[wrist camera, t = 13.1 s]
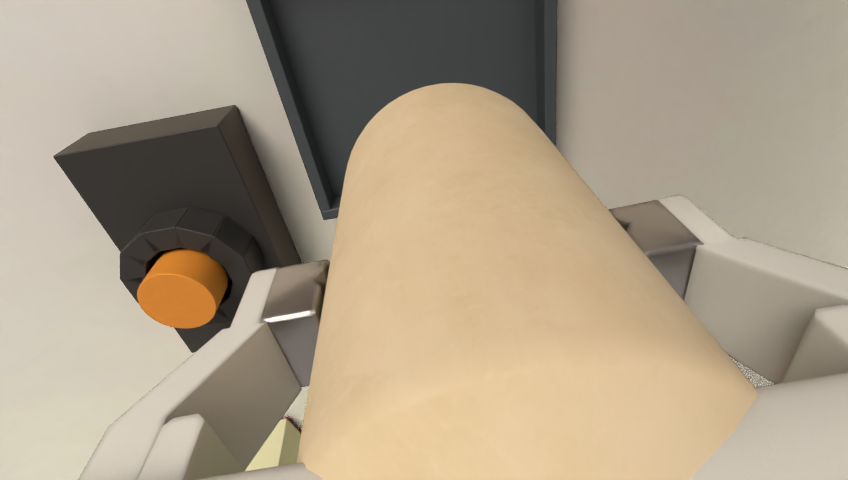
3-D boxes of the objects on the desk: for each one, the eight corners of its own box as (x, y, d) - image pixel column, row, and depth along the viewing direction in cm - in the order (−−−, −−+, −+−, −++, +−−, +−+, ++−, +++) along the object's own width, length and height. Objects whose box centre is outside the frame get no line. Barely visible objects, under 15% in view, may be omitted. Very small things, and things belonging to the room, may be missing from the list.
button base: (87, 132, 23) (23, 175, 19) (235, 104, 23) (202, 141, 19) (207, 320, 31) (179, 378, 27) (317, 300, 31) (307, 356, 26)
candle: (498, 276, 14) (657, 745, 6) (328, 240, 13) (227, 774, 5) (582, 115, 11) (1119, 589, 3) (373, 48, 10) (322, 551, 2)
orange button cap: (141, 255, 22) (121, 281, 20) (210, 242, 22) (195, 268, 20) (175, 306, 24) (160, 334, 22) (239, 295, 24) (228, 322, 22)
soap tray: (238, -60, 19) (224, -59, 17) (543, -122, 18) (558, -128, 17) (327, 203, 26) (323, 220, 25) (545, 163, 26) (556, 178, 24)
